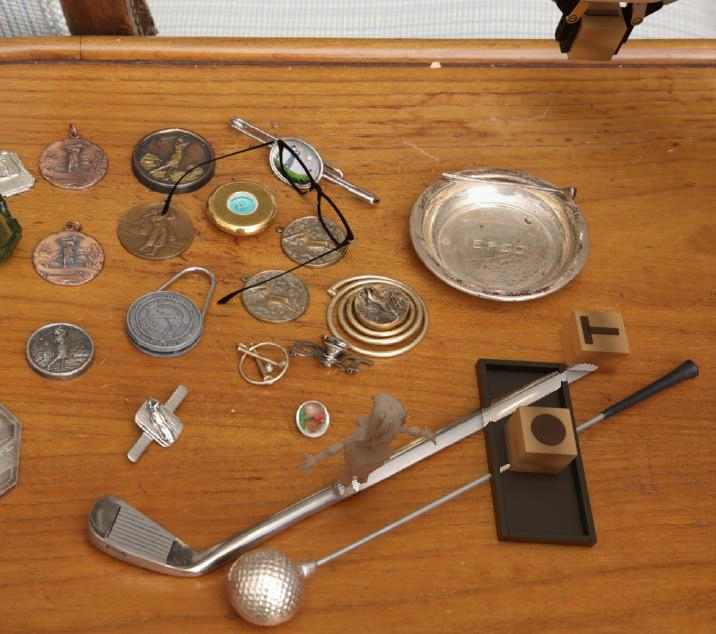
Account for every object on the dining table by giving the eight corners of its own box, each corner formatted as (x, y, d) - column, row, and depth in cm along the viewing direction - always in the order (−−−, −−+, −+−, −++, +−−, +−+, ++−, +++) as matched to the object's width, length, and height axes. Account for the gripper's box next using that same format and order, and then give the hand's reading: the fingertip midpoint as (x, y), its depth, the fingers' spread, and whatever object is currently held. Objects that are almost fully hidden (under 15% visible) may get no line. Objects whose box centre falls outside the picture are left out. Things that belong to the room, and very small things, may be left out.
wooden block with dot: (551, 429, 86) (570, 407, 82) (558, 474, 84) (578, 454, 80) (502, 426, 86) (519, 404, 82) (509, 471, 84) (526, 450, 80)
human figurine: (402, 459, 85) (455, 367, 70) (417, 497, 83) (475, 410, 68) (278, 487, 84) (305, 399, 68) (290, 526, 82) (321, 445, 66)
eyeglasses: (356, 260, 97) (363, 237, 93) (225, 317, 93) (228, 296, 90) (277, 154, 104) (281, 129, 101) (153, 203, 101) (153, 179, 97)
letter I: (602, 33, 102) (619, -2, 98) (610, 61, 99) (628, 27, 95) (561, 32, 102) (576, -3, 98) (568, 60, 100) (584, 25, 96)
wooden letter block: (602, 336, 92) (622, 311, 88) (610, 375, 90) (631, 352, 86) (557, 333, 92) (575, 308, 88) (564, 373, 90) (583, 349, 86)
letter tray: (557, 371, 90) (564, 362, 88) (589, 548, 81) (597, 542, 79) (473, 366, 90) (478, 357, 89) (495, 542, 81) (502, 536, 80)
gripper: (742, -130, 87) (657, 25, 102) (561, -135, 87) (503, 19, 103) (765, -82, 83) (672, 72, 98) (575, -88, 83) (512, 66, 99)
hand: (586, 44), depth 100 cm, fingers closed on letter I, 4 cm apart
